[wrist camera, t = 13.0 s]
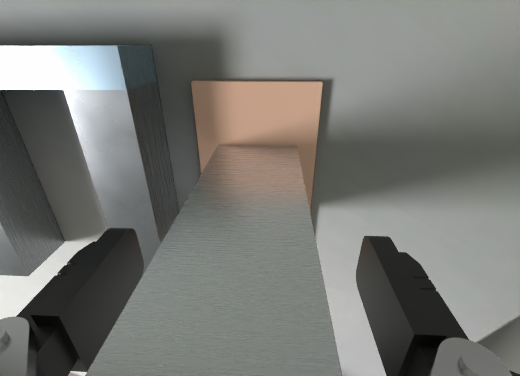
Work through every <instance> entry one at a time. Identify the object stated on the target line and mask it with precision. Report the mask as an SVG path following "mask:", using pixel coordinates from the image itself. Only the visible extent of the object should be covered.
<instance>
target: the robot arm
mask: <svg viewBox="0 0 520 376" xmlns="http://www.w3.org/2000/svg"><path fill="white" fill-rule="evenodd" d="M143 270H144V261H143V257H142V253H141V249H140V245H139V242H138V238H137V234H136V231H135V230H134V229H133V228H109V229H108V230H106V232H105V233H104V234H103V235H102V236H101V237H100V238H99V239H98V240H97V242H92V243H90V244H89V245H87V246H86V247H84V248H83V249H81V250H80V251H78V252H77V253H76V254H75V255H74V256H73V257H72V258H71V259H70V260H69V262H68V263H67V265H65V266H64V267H63V268H62V269H61V270H60V271H59V272H58V275H57V276H54V277H53V278H52V279H51V280H50V282H49V283H48V284H47V285H46V286H45V287H44V288H43V289H42V290H41V291H40V292H39V293H38V294H37V295H36V296H35V297H34V298H33V299H32V300H31V302H30V303H29V304H28V305H27V306H26V307H25V308H24V309H23V310H22V311H21V312H20V313H19V314H18V315H17V316H16V317H8V318H4V319H1V320H0V376H68V374H69V373H70V371H81V372H88V370H89V368H90V366H91V365H92V363H93V361H94V359H95V358H96V356H97V354H98V352H99V351H100V349H101V347H102V345H103V344H104V342H105V340H106V339H107V337H108V335H109V333H110V332H111V330H112V328H113V326H114V325H115V323H116V321H117V319H118V318H119V316H120V314H121V312H122V311H123V309H124V307H125V305H126V304H127V302H128V300H129V299H130V297H131V295H132V293H133V292H134V290H135V288H136V286H137V285H138V283H139V281H140V279H141V277H142V274H143ZM428 278H429V277H428V276H427V274H426V273H425V271H424V270H423V268H422V266H421V265H420V264H419V263H418V262H417V261H416V260H415V259H413V258H412V257H411V256H410V255H409V254H407V253H404V252H398V250H397V248H396V247H395V245H394V243H393V241H392V240H391V238H390V237H384V236H365V237H364V238H363V242H362V246H361V251H360V256H359V260H358V265H357V270H356V281H357V287H358V290H359V293H360V296H361V299H362V303H363V306H364V309H365V312H366V315H367V318H368V321H369V324H370V327H371V330H372V333H373V336H374V339H375V342H376V345H377V348H378V351H379V354H380V357H381V360H382V363H383V366H384V369H385V372H386V375H387V376H520V374H517V373H514V372H511V371H509V370H508V368H507V367H506V366H505V365H504V363H503V362H502V361H501V360H500V359H499V358H498V357H497V356H495V355H494V354H493V353H492V352H490V351H489V350H487V349H486V348H485V347H483V346H481V345H479V344H477V343H475V342H473V341H470V340H469V339H468V337H467V336H466V334H465V333H464V331H463V330H462V328H461V327H460V325H459V324H458V322H457V321H456V319H455V317H454V316H453V314H452V313H451V311H450V310H449V308H448V307H447V305H446V304H445V302H444V300H443V299H442V297H441V296H440V294H439V293H438V292H436V288H435V287H434V285H433V283H432V282H431V280H429V279H428Z"/></svg>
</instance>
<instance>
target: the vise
mask: <svg viewBox="0 0 520 376" xmlns="http://www.w3.org/2000/svg"><path fill="white" fill-rule="evenodd" d="M1 89H15V90H63V91H64V94H65V97H66V100H67V103H68V106H69V110H70V113H71V116H72V119H73V122H74V125H75V128H76V132H77V135H78V138H79V141H80V144H81V147H82V150H83V154H84V157H85V160H86V163H87V166H88V169H89V172H90V175H91V179H92V182H93V185H94V188H95V191H96V194H97V197H98V201H99V204H100V207H101V210H102V213H103V216H104V219H105V223H106V226H107V229H109V228H133V229H134V230H135V231H136V234H137V238H138V242H139V245H140V249H141V253H142V257H143V261H144V270H143V274H144V273H145V271H146V269H147V267H148V266H149V264H150V262H151V260H152V259H153V257H154V255H155V254H156V252H157V250H158V248H159V247H160V245H161V243H162V241H163V240H164V238H165V236H166V234H167V233H168V231H169V229H170V227H171V226H172V224H173V222H174V220H175V219H176V217H177V215H178V214H179V211H178V205H177V199H176V193H175V187H174V180H173V174H172V168H171V162H170V156H169V150H168V144H167V138H166V132H165V126H164V120H163V114H162V108H161V102H160V96H159V90H158V84H157V78H156V72H155V66H154V60H153V54H152V48H151V45H0V275H13V276H29V275H30V274H31V273H32V272H33V271H34V270H35V269H36V268H38V267H39V266H40V265H41V264H42V263H43V262H44V261H45V260H46V259H47V258H48V257H49V256H50V255H51V254H52V253H54V252H55V251H56V250H57V249H58V248H59V247H60V246H61V245H62V244H63V243H64V239H63V237H62V235H61V232H60V230H59V227H58V225H57V223H56V220H55V218H54V216H53V213H52V211H51V208H50V206H49V204H48V201H47V199H46V196H45V194H44V192H43V189H42V187H41V184H40V182H39V180H38V177H37V175H36V172H35V170H34V168H33V165H32V163H31V161H30V158H29V156H28V153H27V151H26V149H25V146H24V144H23V141H22V139H21V137H20V134H19V132H18V129H17V127H16V125H15V122H14V120H13V118H12V115H11V113H10V110H9V108H8V106H7V103H6V101H5V98H4V96H3V94H2V91H1ZM143 274H142V276H143ZM141 278H142V277H141ZM140 280H141V279H140Z"/></svg>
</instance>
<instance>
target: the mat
mask: <svg viewBox="0 0 520 376" xmlns="http://www.w3.org/2000/svg"><path fill="white" fill-rule="evenodd" d="M322 84H323V82H322V81H191V87H192V96H193V105H194V114H195V122H196V131H197V140H198V149H199V158H200V167H201V174H202V172H203V170H204V168H205V167H206V165H207V163H208V161H209V160H210V158H211V156H212V154H213V153H214V151H215V149H216V147H217V146H218V145H275V146H297V148H298V153H299V158H300V163H301V168H302V173H303V179H304V184H305V189H306V194H307V199H308V204H309V209H311V198H312V188H313V178H314V167H315V157H316V146H317V136H318V126H319V115H320V105H321V95H322Z"/></svg>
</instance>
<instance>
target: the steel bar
mask: <svg viewBox="0 0 520 376" xmlns="http://www.w3.org/2000/svg"><path fill="white" fill-rule="evenodd" d="M85 376H342V372H341V367H340V362H339V357H338V352H337V346H336V341H335V336H334V331H333V326H332V321H331V316H330V311H329V306H328V301H327V296H326V291H325V285H324V280H323V275H322V270H321V265H320V260H319V255H318V250H317V245H316V240H315V235H314V229H313V224H312V219H311V214H310V209H309V204H308V199H307V194H306V189H305V184H304V179H303V173H302V168H301V163H300V158H299V153H298V148H297V146H275V145H218V146H217V147H216V149H215V151H214V153H213V154H212V156H211V158H210V160H209V161H208V163H207V165H206V167H205V168H204V170H203V172H202V174H201V175H200V177H199V179H198V180H197V182H196V184H195V186H194V187H193V189H192V191H191V193H190V194H189V196H188V198H187V200H186V201H185V203H184V205H183V207H182V208H181V210H180V212H179V214H178V215H177V217H176V219H175V220H174V222H173V224H172V226H171V227H170V229H169V231H168V233H167V234H166V236H165V238H164V240H163V241H162V243H161V245H160V247H159V248H158V250H157V252H156V254H155V255H154V257H153V259H152V260H151V262H150V264H149V266H148V267H147V269H146V271H145V273H144V274H143V276H142V278H141V280H140V281H139V283H138V285H137V287H136V288H135V290H134V292H133V294H132V295H131V297H130V299H129V301H128V302H127V304H126V306H125V307H124V309H123V311H122V313H121V314H120V316H119V318H118V320H117V321H116V323H115V325H114V327H113V328H112V330H111V332H110V334H109V335H108V337H107V339H106V341H105V342H104V344H103V346H102V347H101V349H100V351H99V353H98V354H97V356H96V358H95V360H94V361H93V363H92V365H91V367H90V368H89V370H88V372H87V374H86V375H85Z"/></svg>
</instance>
